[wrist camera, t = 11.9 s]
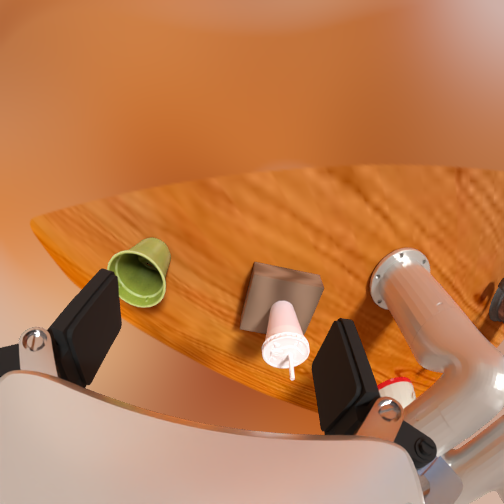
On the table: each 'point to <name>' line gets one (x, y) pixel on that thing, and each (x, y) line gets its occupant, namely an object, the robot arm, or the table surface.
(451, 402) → the robot arm
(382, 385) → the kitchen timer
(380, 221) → the table surface
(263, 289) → the plinth
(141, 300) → the plant pot
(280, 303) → the smoothie
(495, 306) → the tankard
